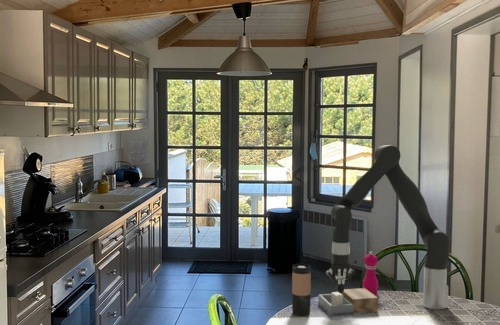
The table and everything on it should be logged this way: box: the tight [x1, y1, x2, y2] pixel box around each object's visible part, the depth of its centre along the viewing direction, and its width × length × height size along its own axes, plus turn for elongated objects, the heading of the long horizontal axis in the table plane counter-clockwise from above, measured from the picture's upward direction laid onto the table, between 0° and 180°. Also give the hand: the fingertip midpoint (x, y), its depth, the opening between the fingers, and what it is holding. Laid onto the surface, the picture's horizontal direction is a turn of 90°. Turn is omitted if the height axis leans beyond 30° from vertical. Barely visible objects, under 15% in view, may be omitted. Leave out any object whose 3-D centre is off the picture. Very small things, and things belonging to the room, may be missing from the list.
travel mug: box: [291, 263, 312, 317], centre depth 231 cm, size 8×8×20 cm
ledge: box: [340, 287, 379, 314], centre depth 240 cm, size 11×14×6 cm
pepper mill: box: [362, 251, 379, 296], centre depth 258 cm, size 7×7×20 cm
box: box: [317, 293, 355, 317], centre depth 238 cm, size 10×16×4 cm, turn 11°
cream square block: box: [331, 291, 343, 305], centre depth 239 cm, size 5×5×3 cm
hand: (340, 292), depth 238 cm, fingers closed
